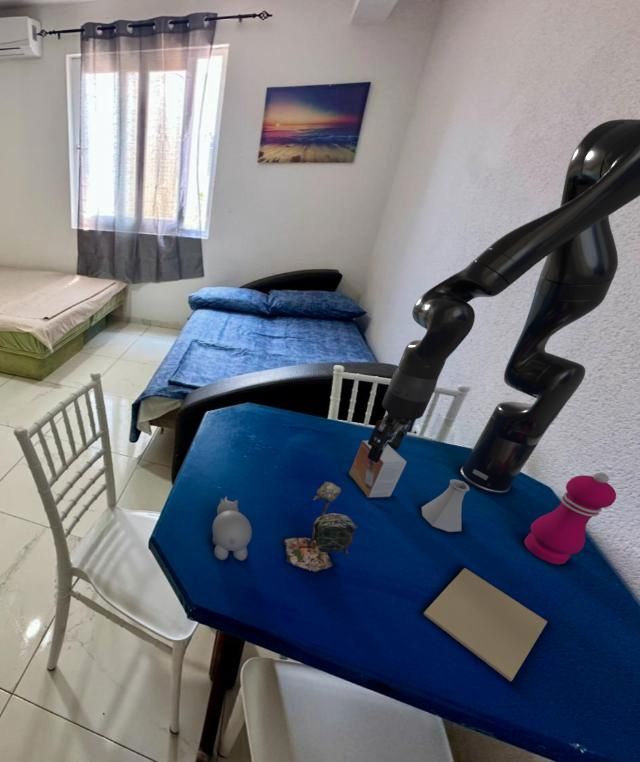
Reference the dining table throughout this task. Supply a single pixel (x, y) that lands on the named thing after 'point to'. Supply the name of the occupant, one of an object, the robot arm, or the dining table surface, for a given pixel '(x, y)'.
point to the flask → (447, 507)
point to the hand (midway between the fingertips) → (382, 453)
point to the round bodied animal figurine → (230, 531)
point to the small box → (377, 471)
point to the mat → (487, 622)
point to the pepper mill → (570, 518)
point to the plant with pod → (322, 536)
